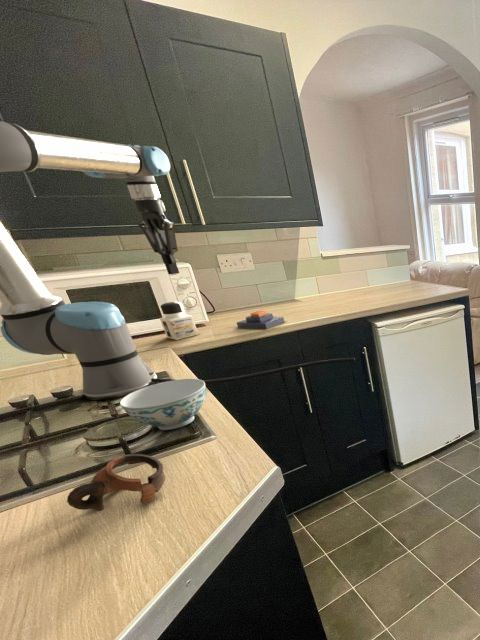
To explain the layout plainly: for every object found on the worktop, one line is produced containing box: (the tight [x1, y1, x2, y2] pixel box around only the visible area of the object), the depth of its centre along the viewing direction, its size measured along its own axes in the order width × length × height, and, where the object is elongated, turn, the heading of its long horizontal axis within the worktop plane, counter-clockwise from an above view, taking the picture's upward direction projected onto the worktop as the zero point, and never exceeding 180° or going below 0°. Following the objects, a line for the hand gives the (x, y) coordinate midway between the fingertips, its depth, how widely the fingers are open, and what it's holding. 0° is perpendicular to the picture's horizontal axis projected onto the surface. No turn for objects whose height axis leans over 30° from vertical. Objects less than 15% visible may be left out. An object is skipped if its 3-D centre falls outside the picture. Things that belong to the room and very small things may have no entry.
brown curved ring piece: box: [66, 453, 166, 512], centre depth 68 cm, size 12×10×8 cm
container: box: [159, 301, 199, 341], centre depth 159 cm, size 8×8×13 cm
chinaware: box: [119, 378, 207, 431], centre depth 94 cm, size 15×15×8 cm
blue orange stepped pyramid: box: [236, 312, 285, 330], centre depth 172 cm, size 14×10×4 cm
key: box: [250, 310, 267, 317], centre depth 171 cm, size 4×4×2 cm
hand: (174, 273), depth 145 cm, fingers closed
